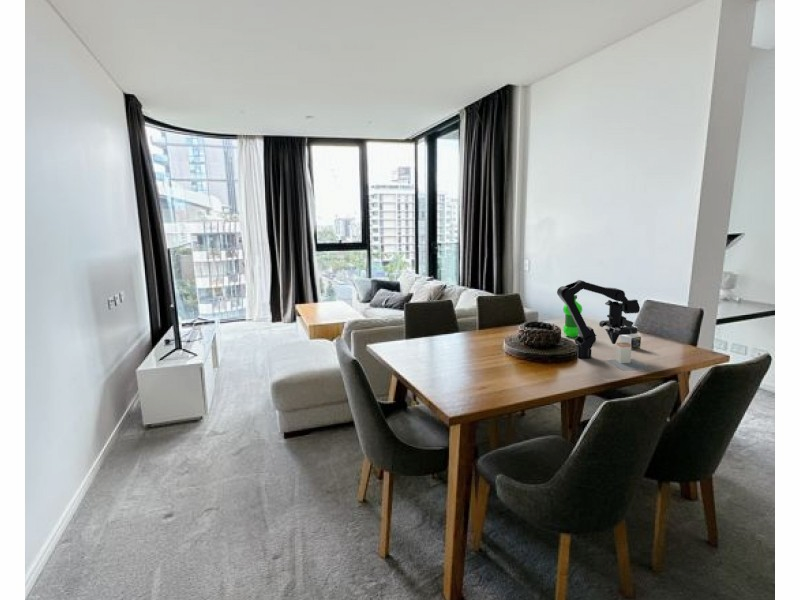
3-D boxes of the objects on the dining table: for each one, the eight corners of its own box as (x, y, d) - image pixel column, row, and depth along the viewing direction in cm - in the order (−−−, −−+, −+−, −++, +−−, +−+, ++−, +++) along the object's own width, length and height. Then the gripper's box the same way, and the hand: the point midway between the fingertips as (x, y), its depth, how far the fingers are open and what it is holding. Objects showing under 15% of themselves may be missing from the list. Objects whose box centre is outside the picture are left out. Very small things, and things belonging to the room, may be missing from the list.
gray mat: (622, 371, 188) (622, 370, 188) (604, 361, 203) (605, 360, 203) (652, 370, 189) (652, 368, 189) (632, 359, 203) (632, 358, 203)
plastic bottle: (582, 334, 251) (583, 294, 246) (579, 339, 242) (580, 297, 237) (564, 333, 256) (566, 293, 251) (561, 337, 247) (562, 296, 243)
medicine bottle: (630, 350, 217) (632, 328, 215) (619, 347, 224) (620, 325, 222) (640, 348, 220) (642, 327, 218) (628, 345, 227) (630, 324, 224)
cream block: (620, 363, 198) (621, 345, 196) (615, 360, 201) (616, 342, 200) (630, 362, 198) (631, 344, 196) (625, 360, 202) (626, 342, 200)
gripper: (643, 317, 195) (640, 348, 198) (620, 309, 214) (618, 338, 216) (620, 318, 195) (618, 349, 198) (599, 310, 213) (598, 339, 216)
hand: (613, 343), depth 207 cm, fingers closed
